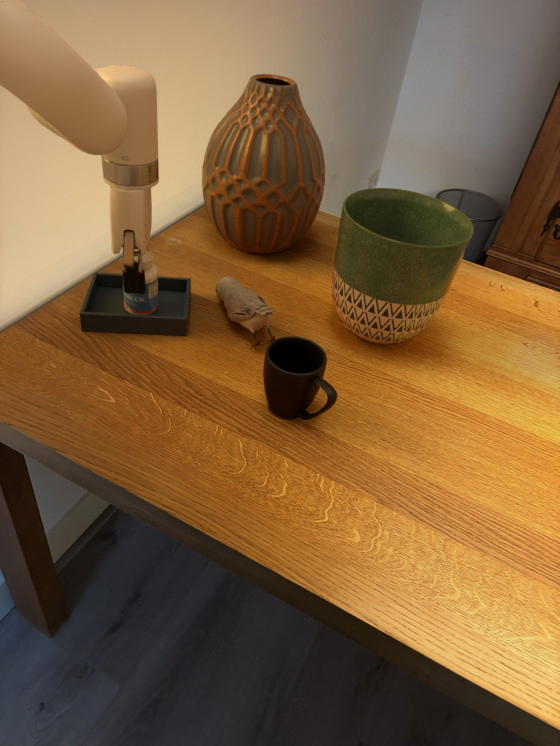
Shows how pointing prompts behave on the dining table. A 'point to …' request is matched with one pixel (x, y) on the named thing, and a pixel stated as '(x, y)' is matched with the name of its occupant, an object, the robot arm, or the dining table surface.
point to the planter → (395, 261)
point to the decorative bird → (244, 306)
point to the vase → (264, 168)
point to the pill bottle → (149, 300)
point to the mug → (295, 378)
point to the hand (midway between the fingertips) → (137, 281)
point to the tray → (110, 315)
